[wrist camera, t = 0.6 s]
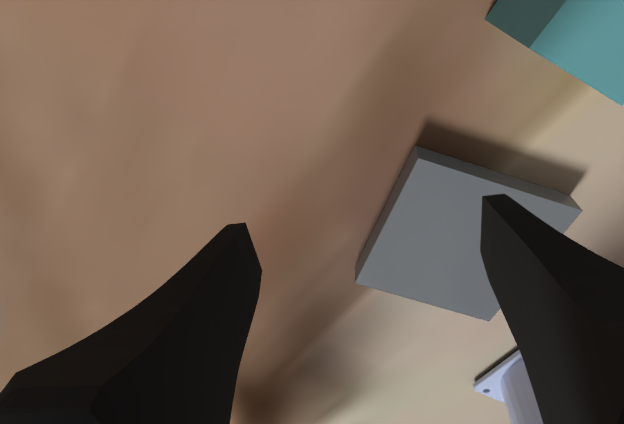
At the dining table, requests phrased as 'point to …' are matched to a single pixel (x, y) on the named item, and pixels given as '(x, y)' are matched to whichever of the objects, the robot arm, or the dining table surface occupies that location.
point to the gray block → (446, 232)
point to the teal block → (571, 37)
